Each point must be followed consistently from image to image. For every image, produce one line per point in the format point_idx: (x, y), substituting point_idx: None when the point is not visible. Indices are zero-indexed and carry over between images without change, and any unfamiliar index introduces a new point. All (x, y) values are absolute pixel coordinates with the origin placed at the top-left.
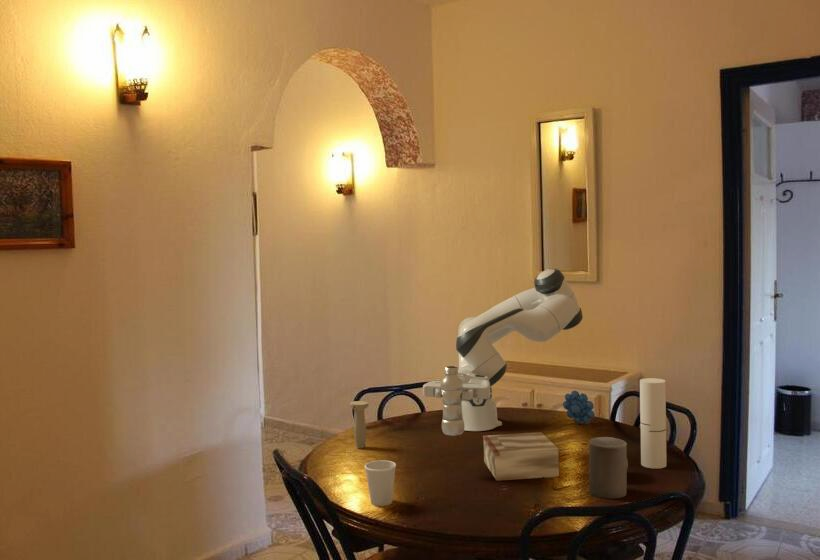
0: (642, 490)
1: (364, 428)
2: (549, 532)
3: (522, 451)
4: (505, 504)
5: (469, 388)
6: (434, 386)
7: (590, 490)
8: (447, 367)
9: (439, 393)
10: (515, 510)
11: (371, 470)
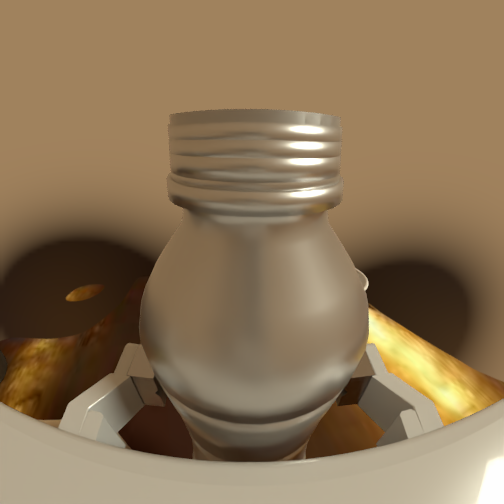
0: None
1: None
2: (100, 284)
3: (41, 420)
4: (128, 342)
5: (86, 438)
6: (467, 417)
7: (3, 369)
8: (327, 129)
9: None
10: (119, 326)
11: None
